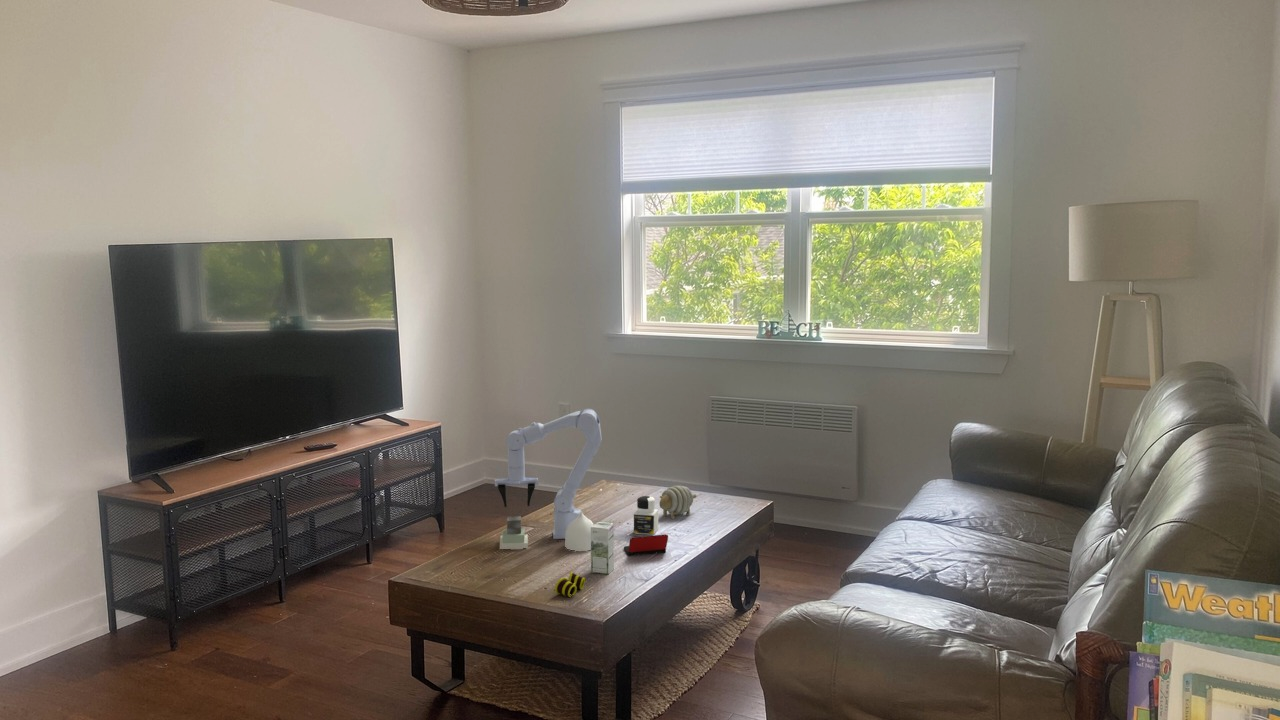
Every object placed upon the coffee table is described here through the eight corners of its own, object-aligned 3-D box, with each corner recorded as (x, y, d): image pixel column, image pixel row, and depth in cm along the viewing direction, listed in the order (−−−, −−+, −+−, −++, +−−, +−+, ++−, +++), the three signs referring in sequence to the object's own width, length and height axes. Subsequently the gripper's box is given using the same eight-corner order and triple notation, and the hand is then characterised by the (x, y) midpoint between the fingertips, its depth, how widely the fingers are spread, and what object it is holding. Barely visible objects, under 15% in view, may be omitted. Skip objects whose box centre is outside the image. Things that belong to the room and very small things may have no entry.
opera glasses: (569, 602, 248) (572, 585, 247) (553, 595, 250) (556, 579, 249) (585, 590, 257) (588, 574, 256) (569, 584, 259) (572, 568, 258)
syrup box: (614, 568, 272) (614, 522, 270) (608, 575, 266) (608, 527, 264) (596, 566, 273) (596, 520, 272) (590, 573, 268) (590, 526, 266)
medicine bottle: (633, 533, 306) (633, 499, 304) (638, 527, 313) (638, 494, 311) (653, 535, 304) (653, 500, 303) (658, 528, 311) (658, 495, 310)
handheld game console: (660, 546, 293) (660, 524, 292) (669, 557, 283) (669, 534, 282) (622, 549, 290) (622, 527, 289) (630, 560, 280) (630, 537, 279)
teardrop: (577, 539, 300) (576, 504, 299) (604, 544, 295) (604, 509, 293) (558, 548, 291) (557, 512, 290) (586, 554, 285) (585, 517, 284)
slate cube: (521, 529, 297) (520, 516, 296) (521, 533, 292) (520, 520, 292) (507, 529, 296) (507, 516, 296) (507, 534, 292) (506, 520, 291)
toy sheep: (651, 516, 325) (651, 487, 324) (683, 507, 337) (683, 479, 335) (671, 523, 318) (671, 492, 316) (704, 513, 329) (704, 484, 328)
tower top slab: (524, 535, 298) (524, 528, 297) (524, 542, 291) (524, 535, 290) (503, 536, 297) (503, 529, 297) (502, 543, 290) (502, 535, 290)
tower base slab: (527, 541, 299) (527, 534, 299) (527, 550, 291) (527, 543, 290) (500, 542, 298) (500, 535, 298) (499, 551, 289) (499, 544, 289)
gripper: (494, 470, 296) (494, 509, 298) (537, 468, 298) (538, 508, 300) (494, 465, 303) (495, 504, 305) (537, 463, 305) (538, 502, 307)
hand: (517, 505), depth 303 cm, fingers open, 7 cm apart
